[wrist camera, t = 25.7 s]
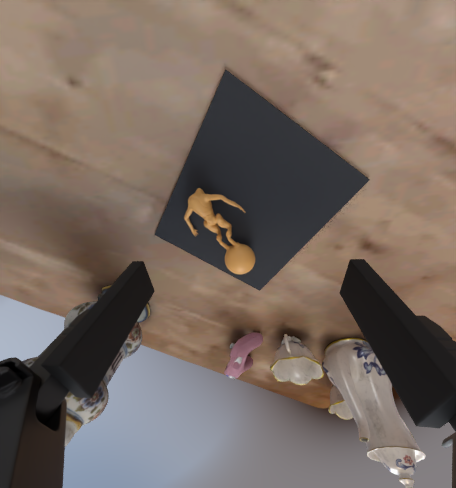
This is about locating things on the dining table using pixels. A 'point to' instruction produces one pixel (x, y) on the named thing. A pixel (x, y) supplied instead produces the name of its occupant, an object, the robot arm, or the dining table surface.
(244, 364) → the video game controller
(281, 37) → the dining table surface
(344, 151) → the dining table surface
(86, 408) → the apothecary jar
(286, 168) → the mat
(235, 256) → the figurine
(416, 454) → the chinaware
